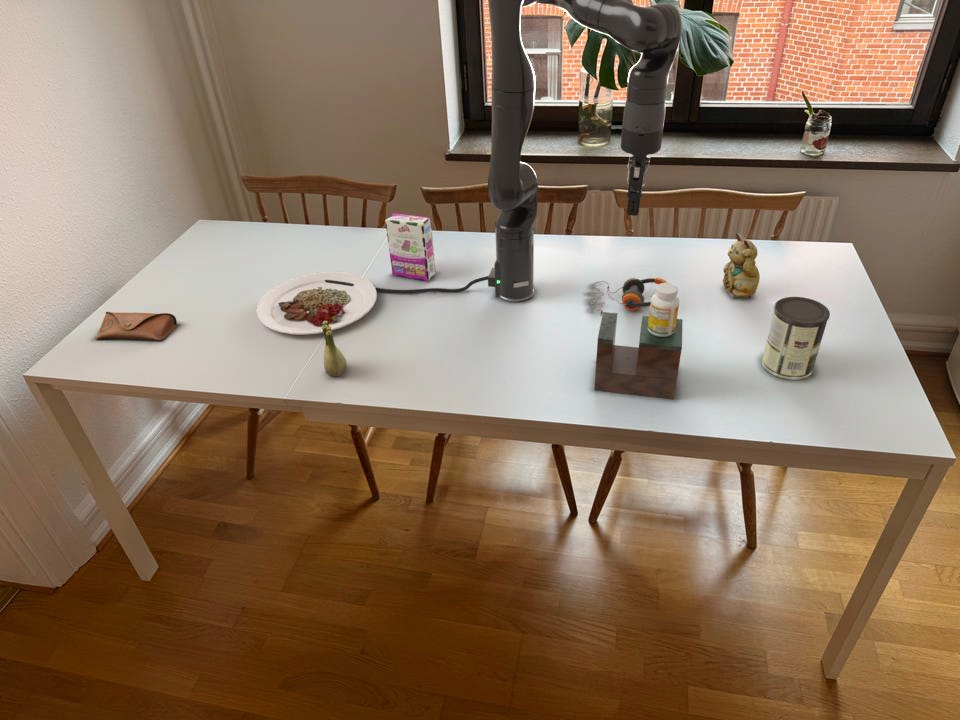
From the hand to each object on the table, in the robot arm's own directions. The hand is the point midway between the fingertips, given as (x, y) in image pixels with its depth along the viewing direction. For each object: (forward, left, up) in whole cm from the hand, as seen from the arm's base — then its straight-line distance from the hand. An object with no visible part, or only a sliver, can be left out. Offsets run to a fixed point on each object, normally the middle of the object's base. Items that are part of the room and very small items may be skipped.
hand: (634, 205), depth 137 cm
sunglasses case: (-116, -18, -33) cm, 122 cm away
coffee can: (+35, -4, -33) cm, 48 cm away
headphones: (0, +16, -33) cm, 37 cm away
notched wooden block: (+4, -15, -33) cm, 36 cm away
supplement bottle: (+8, -14, -20) cm, 26 cm away
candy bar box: (-57, +21, -33) cm, 69 cm away
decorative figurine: (+27, +26, -33) cm, 50 cm away
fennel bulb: (-60, -24, -33) cm, 72 cm away
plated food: (-76, +1, -33) cm, 83 cm away
